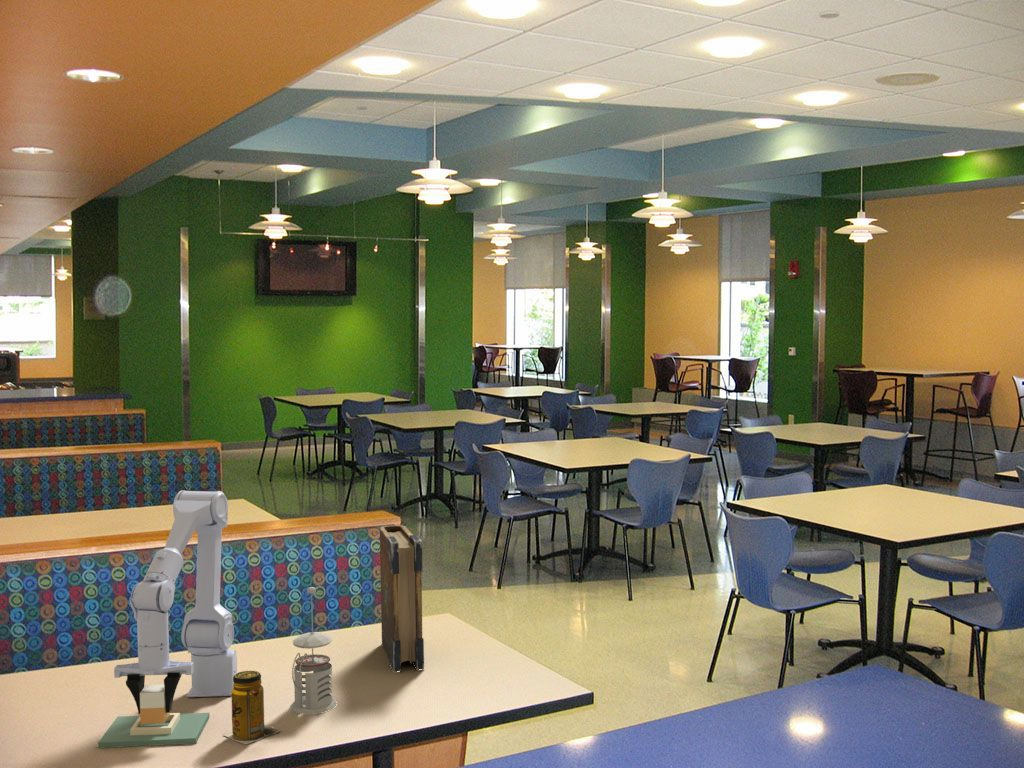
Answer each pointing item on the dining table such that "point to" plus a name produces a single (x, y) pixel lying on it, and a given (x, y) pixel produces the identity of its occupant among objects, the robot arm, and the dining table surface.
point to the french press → (312, 674)
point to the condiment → (248, 709)
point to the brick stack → (153, 704)
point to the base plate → (155, 731)
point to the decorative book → (401, 596)
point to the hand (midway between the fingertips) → (155, 711)
